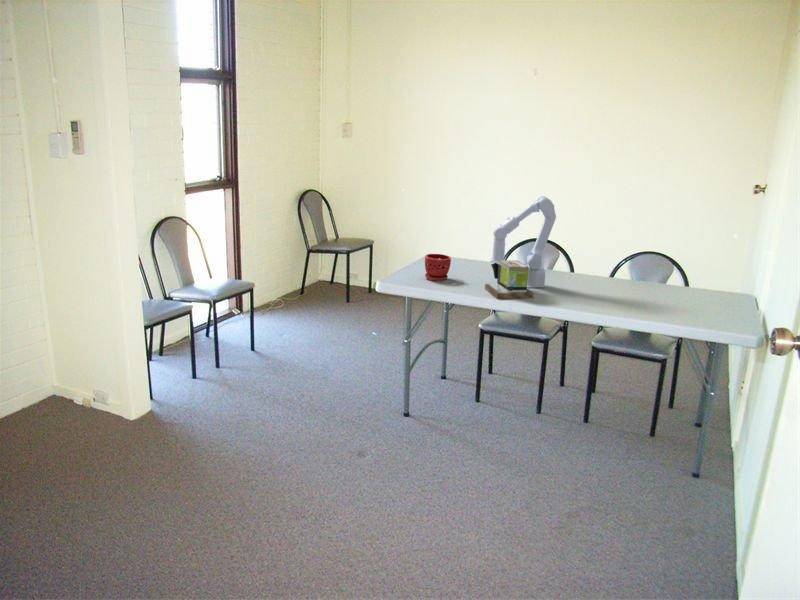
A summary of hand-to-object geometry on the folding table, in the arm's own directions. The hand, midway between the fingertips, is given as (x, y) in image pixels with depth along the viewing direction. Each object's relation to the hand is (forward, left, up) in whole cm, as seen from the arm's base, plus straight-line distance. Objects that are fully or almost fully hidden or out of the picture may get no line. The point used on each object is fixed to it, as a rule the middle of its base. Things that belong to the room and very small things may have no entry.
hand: (496, 278), depth 335 cm
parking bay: (0, +16, -3) cm, 16 cm away
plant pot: (+27, -14, -3) cm, 31 cm away
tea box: (-1, +17, -3) cm, 17 cm away
